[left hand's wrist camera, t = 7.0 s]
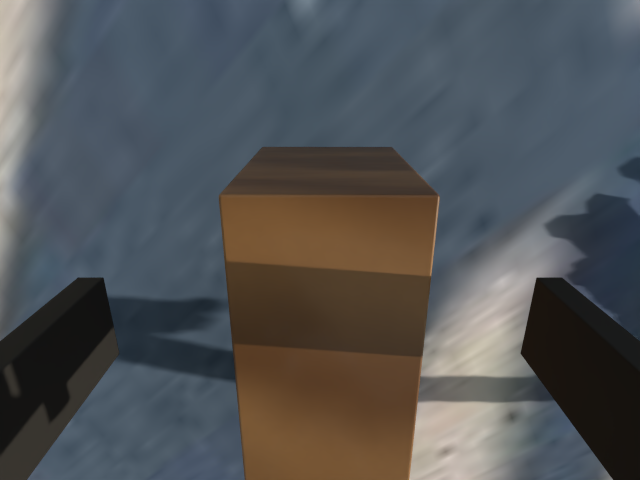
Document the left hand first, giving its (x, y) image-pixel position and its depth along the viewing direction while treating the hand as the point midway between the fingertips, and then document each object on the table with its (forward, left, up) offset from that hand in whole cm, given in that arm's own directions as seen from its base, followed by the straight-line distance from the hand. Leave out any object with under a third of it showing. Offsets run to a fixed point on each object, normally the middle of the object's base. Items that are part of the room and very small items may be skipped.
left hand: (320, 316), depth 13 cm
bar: (+9, +9, -8) cm, 15 cm away
